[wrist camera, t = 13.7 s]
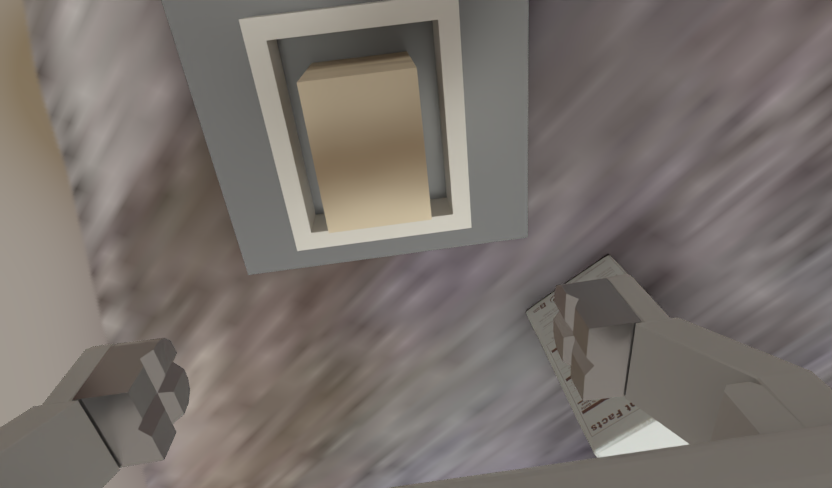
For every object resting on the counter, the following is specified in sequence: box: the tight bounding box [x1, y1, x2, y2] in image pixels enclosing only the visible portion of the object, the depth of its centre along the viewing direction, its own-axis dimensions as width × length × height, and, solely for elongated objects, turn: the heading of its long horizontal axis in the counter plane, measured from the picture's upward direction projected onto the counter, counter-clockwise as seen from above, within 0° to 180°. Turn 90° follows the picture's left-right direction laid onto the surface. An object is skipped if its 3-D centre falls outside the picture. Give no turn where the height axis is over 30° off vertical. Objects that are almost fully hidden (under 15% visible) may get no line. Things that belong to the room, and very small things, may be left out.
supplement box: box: [526, 255, 689, 458], centre depth 30 cm, size 7×7×13 cm
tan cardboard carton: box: [297, 51, 432, 233], centre depth 24 cm, size 7×5×6 cm
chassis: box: [161, 0, 529, 275], centre depth 26 cm, size 17×18×4 cm
